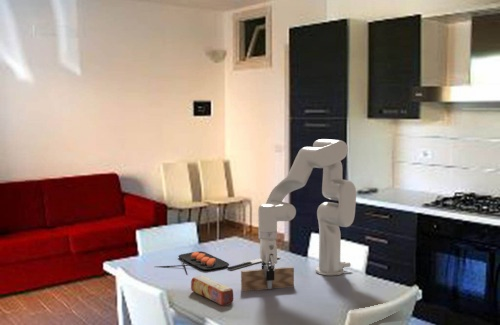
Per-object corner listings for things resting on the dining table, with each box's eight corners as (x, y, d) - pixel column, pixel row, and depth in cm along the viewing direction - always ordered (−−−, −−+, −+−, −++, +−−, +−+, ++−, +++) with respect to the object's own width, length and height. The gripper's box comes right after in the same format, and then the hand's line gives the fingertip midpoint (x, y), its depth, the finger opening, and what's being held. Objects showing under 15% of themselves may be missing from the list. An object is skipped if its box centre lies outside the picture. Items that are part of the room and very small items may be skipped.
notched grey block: (263, 283, 220) (263, 264, 219) (267, 283, 220) (267, 264, 219) (268, 288, 213) (268, 269, 213) (271, 288, 214) (271, 269, 213)
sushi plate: (231, 268, 246) (231, 260, 245) (173, 280, 229) (172, 271, 229) (202, 254, 270) (201, 247, 270) (146, 264, 253) (146, 256, 253)
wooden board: (292, 285, 220) (292, 266, 219) (293, 286, 219) (293, 267, 218) (241, 289, 215) (241, 270, 214) (242, 291, 213) (242, 271, 213)
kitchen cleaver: (267, 253, 267) (281, 255, 260) (268, 256, 267) (281, 258, 260) (219, 265, 247) (232, 268, 239) (219, 269, 247) (232, 271, 239)
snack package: (235, 303, 200) (235, 286, 200) (221, 307, 196) (220, 290, 195) (203, 289, 217) (203, 273, 216) (189, 292, 212) (189, 276, 212)
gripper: (283, 239, 207) (283, 283, 209) (270, 229, 224) (270, 270, 226) (264, 240, 205) (264, 285, 207) (253, 230, 222) (253, 272, 224)
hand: (267, 277), depth 216 cm, fingers closed on notched grey block, 6 cm apart
